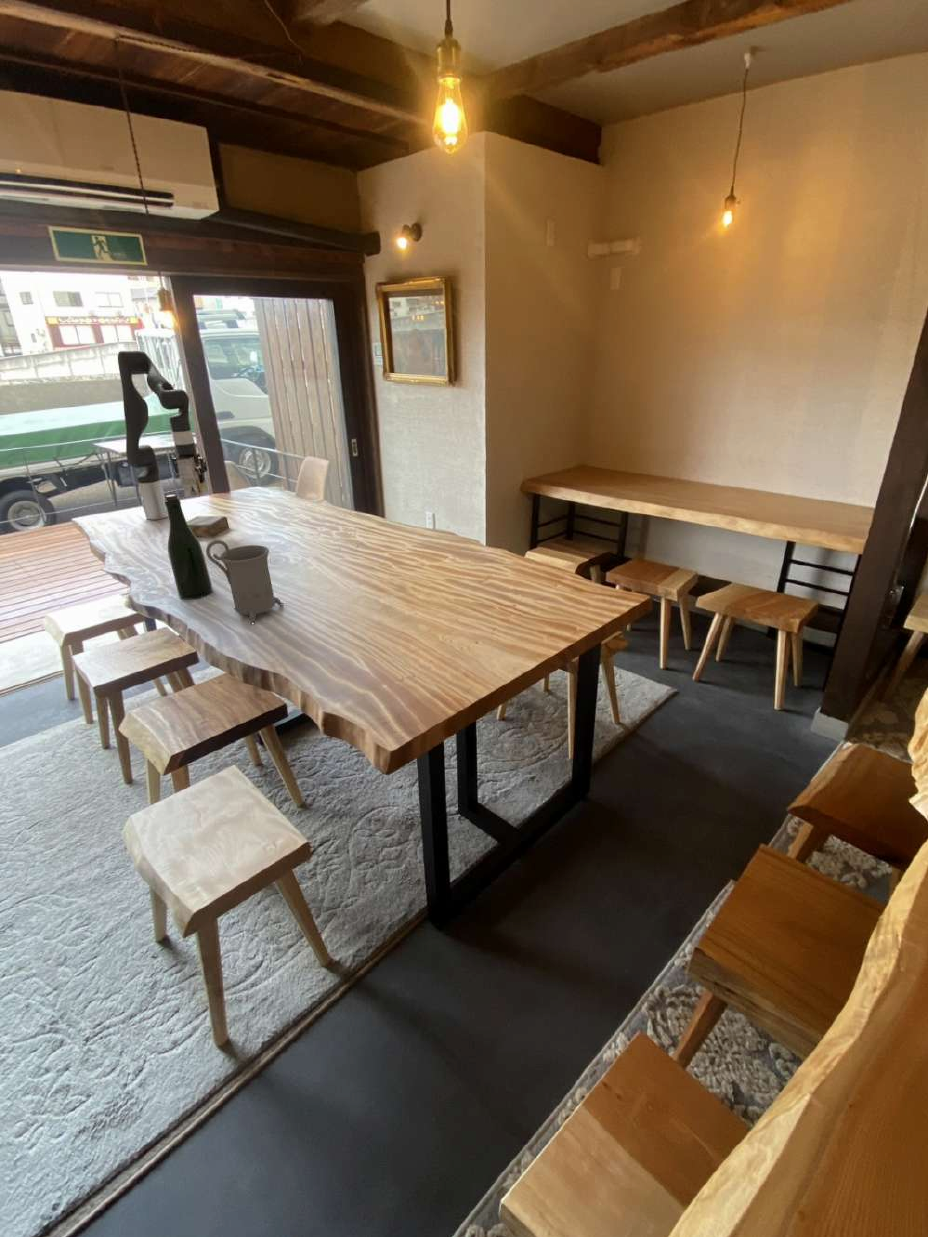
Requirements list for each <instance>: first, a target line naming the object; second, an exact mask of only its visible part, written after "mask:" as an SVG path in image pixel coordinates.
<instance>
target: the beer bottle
mask: <svg viewBox="0 0 928 1237" xmlns="http://www.w3.org/2000/svg"><path fill="white" fill-rule="evenodd" d="M164 497H165V506H166V508H167V512H168V517H167V518H168V523H169V532H168V539H167V553H168V558H169V562H170V566H171V571H172V575H173V579H174V583H175V587H176V590H177V593H178V596H179V597H180V598H181V597H182V599H184V598H195V599H198V598H197V597H200V598H202V597H201V596H203V597H205V596H204V595H206V596H207V594H208V595H209V594H211V593H212V591H213V585H212V584H213V583H212V581H211V578H210V576H211V575H210V573H209V570H208V566H207V562H206V561H207V560H206V559H205V554H204V552H203V549H202V545H201V543H200V541H199V538H196V536H195V535H194V533H193V532H192V531H191V529H190V528H189V526H188V524H187V522H188V521H187V519H186V518H185V515H184V512H183V508H182V501H181V500H180V498H178V495H177V494H168V495H164Z"/></svg>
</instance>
